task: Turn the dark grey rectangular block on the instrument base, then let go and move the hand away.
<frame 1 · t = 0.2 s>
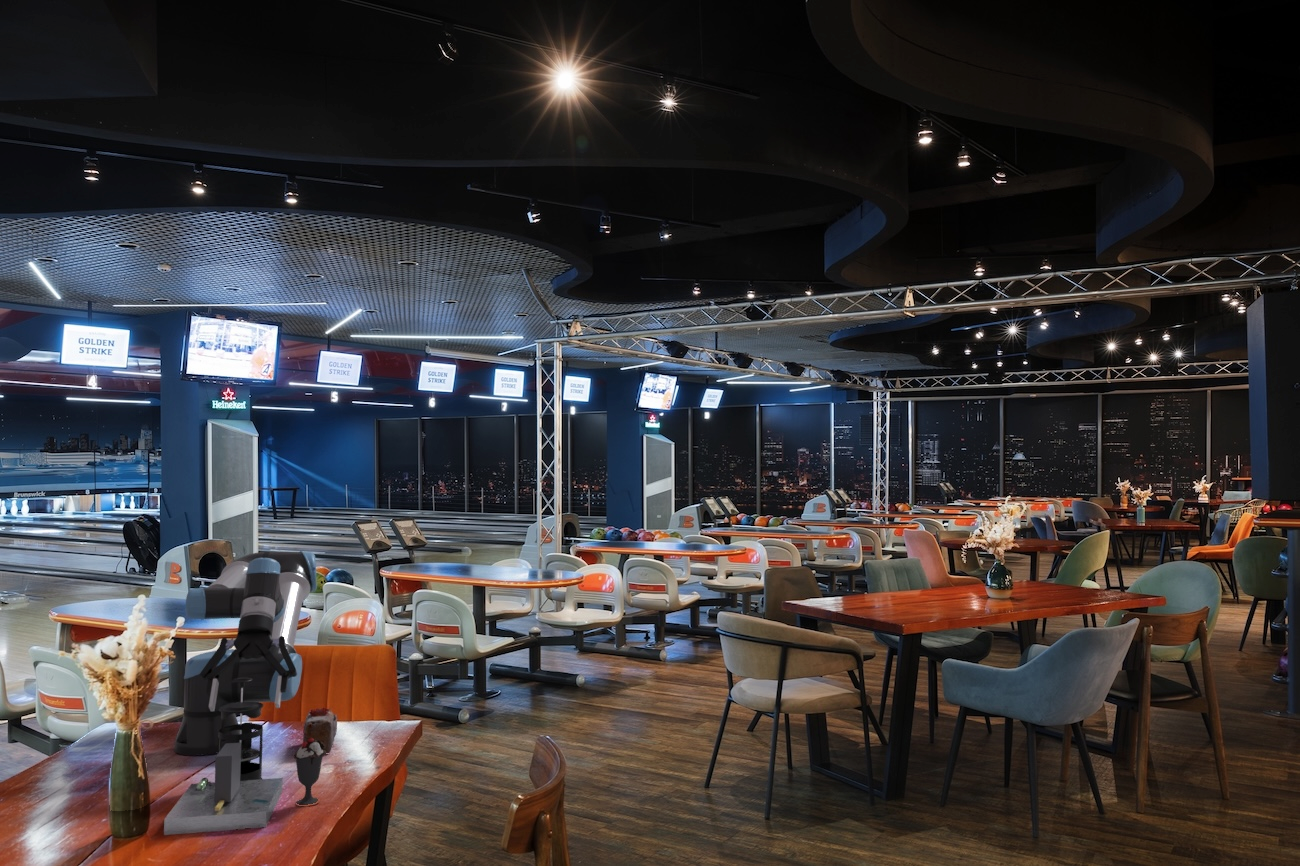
hand: (244, 707, 203), 16 cm above the table, tool tilted 35°, fingers open, 13 cm apart
instrument base: (226, 812, 184), on the table
french press: (239, 784, 201), on the table
dark grey rectangular block: (225, 775, 182), point 8 cm above the table, hinge at 0.0°
food item: (319, 748, 228), on the table
sundae: (308, 803, 190), on the table
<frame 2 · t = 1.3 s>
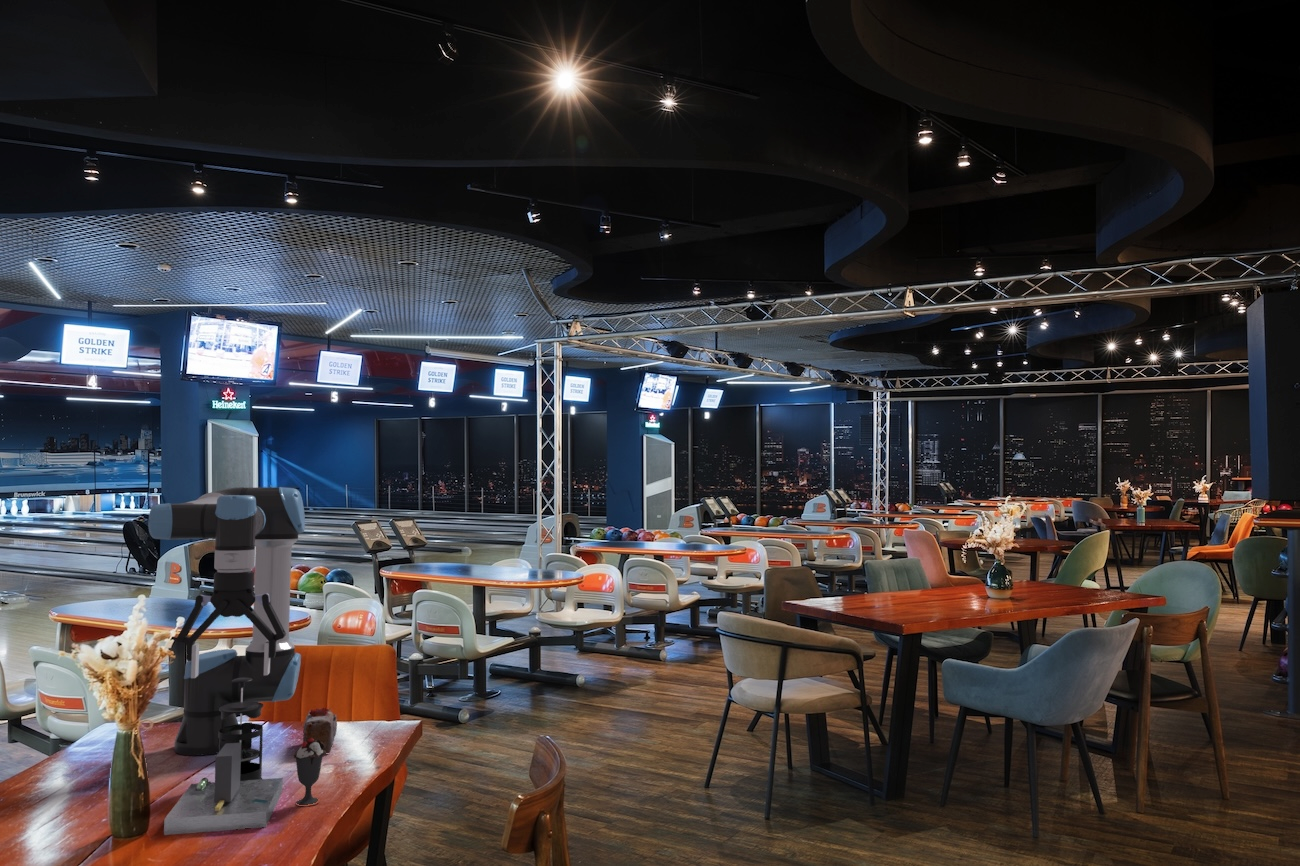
hand: (231, 675, 185), 27 cm above the table, tool pointing down, fingers open, 13 cm apart
nothing on the table moved.
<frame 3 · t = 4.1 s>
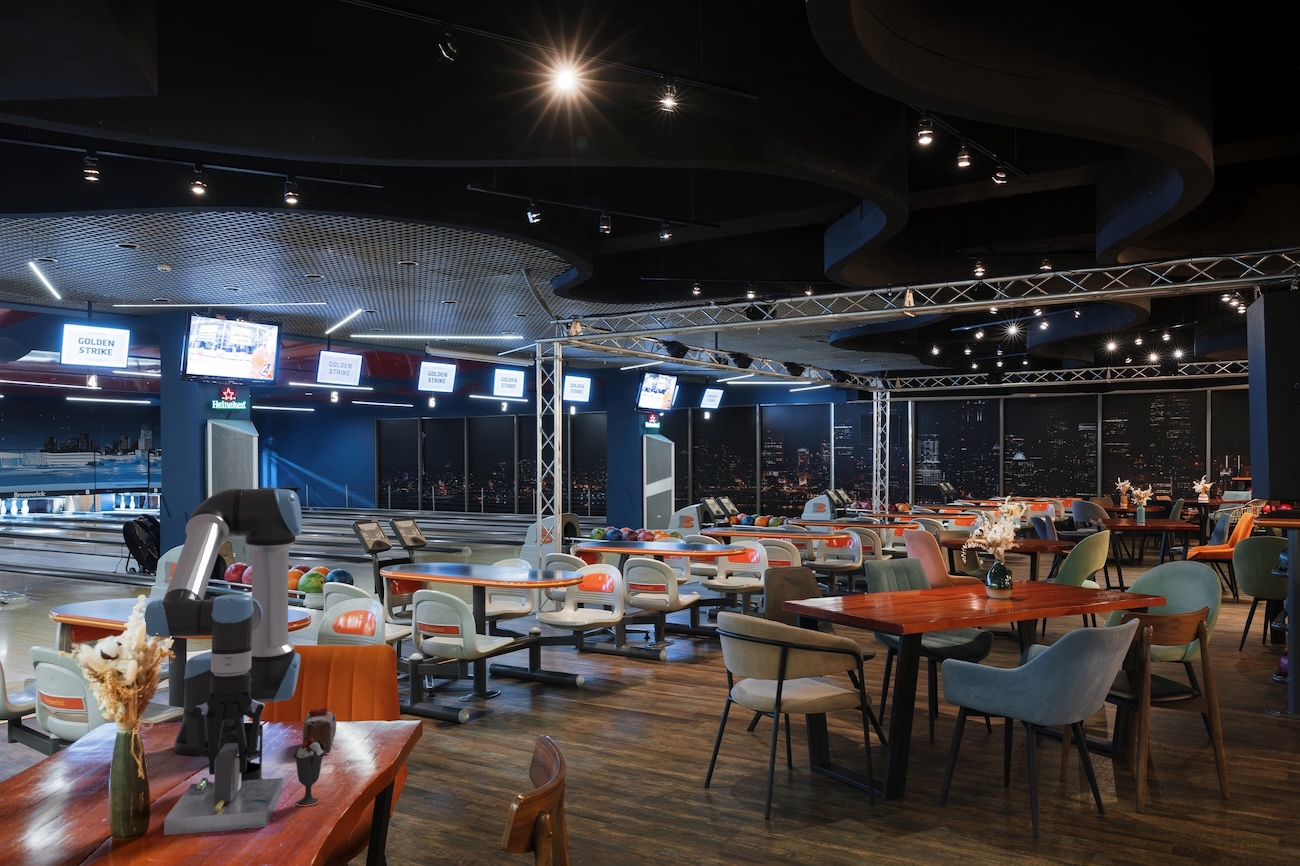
hand: (227, 789, 184), 5 cm above the table, tool pointing down, fingers closed on dark grey rectangular block, 3 cm apart
dark grey rectangular block: (225, 775, 182), point 8 cm above the table, hinge at 0.0°, touching gripper
everything else where it was.
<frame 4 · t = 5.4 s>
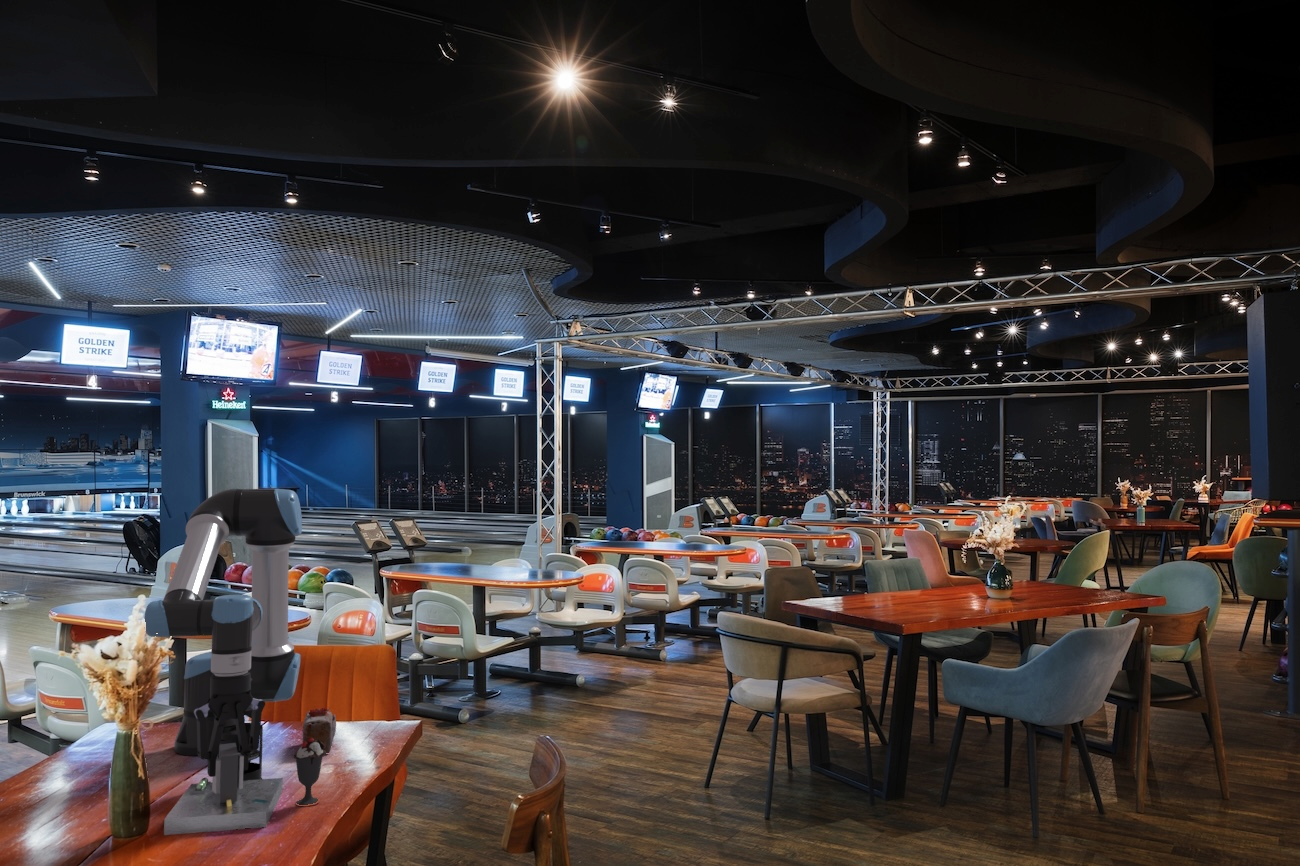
hand: (227, 789, 184), 5 cm above the table, tool pointing down, fingers closed on dark grey rectangular block, 4 cm apart
dark grey rectangular block: (228, 775, 182), point 8 cm above the table, hinge at 14.0°, touching gripper
everything else where it was.
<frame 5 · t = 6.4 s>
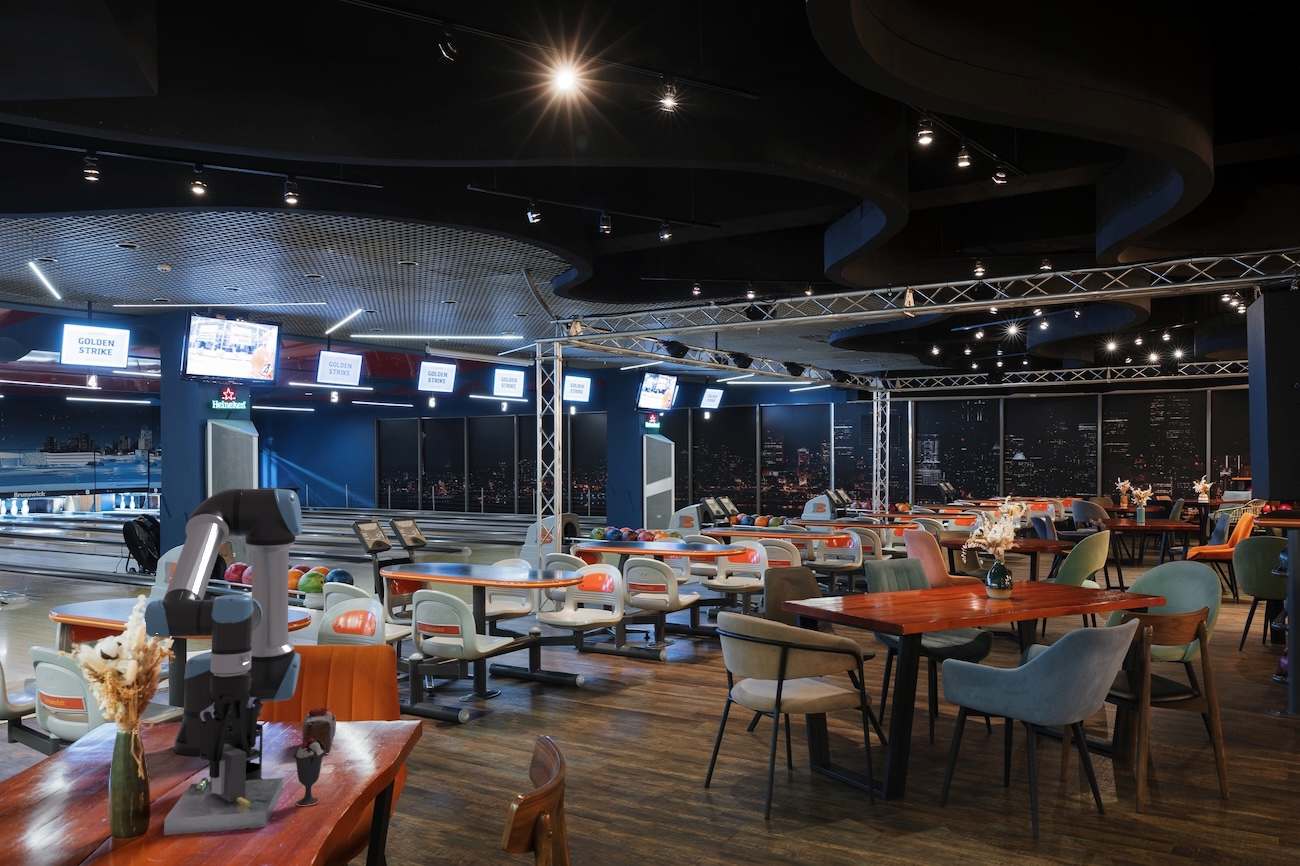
hand: (227, 789, 184), 5 cm above the table, tool pointing down, fingers closed on dark grey rectangular block, 4 cm apart
dark grey rectangular block: (233, 774, 183), point 8 cm above the table, hinge at 35.5°, touching gripper
everything else where it was.
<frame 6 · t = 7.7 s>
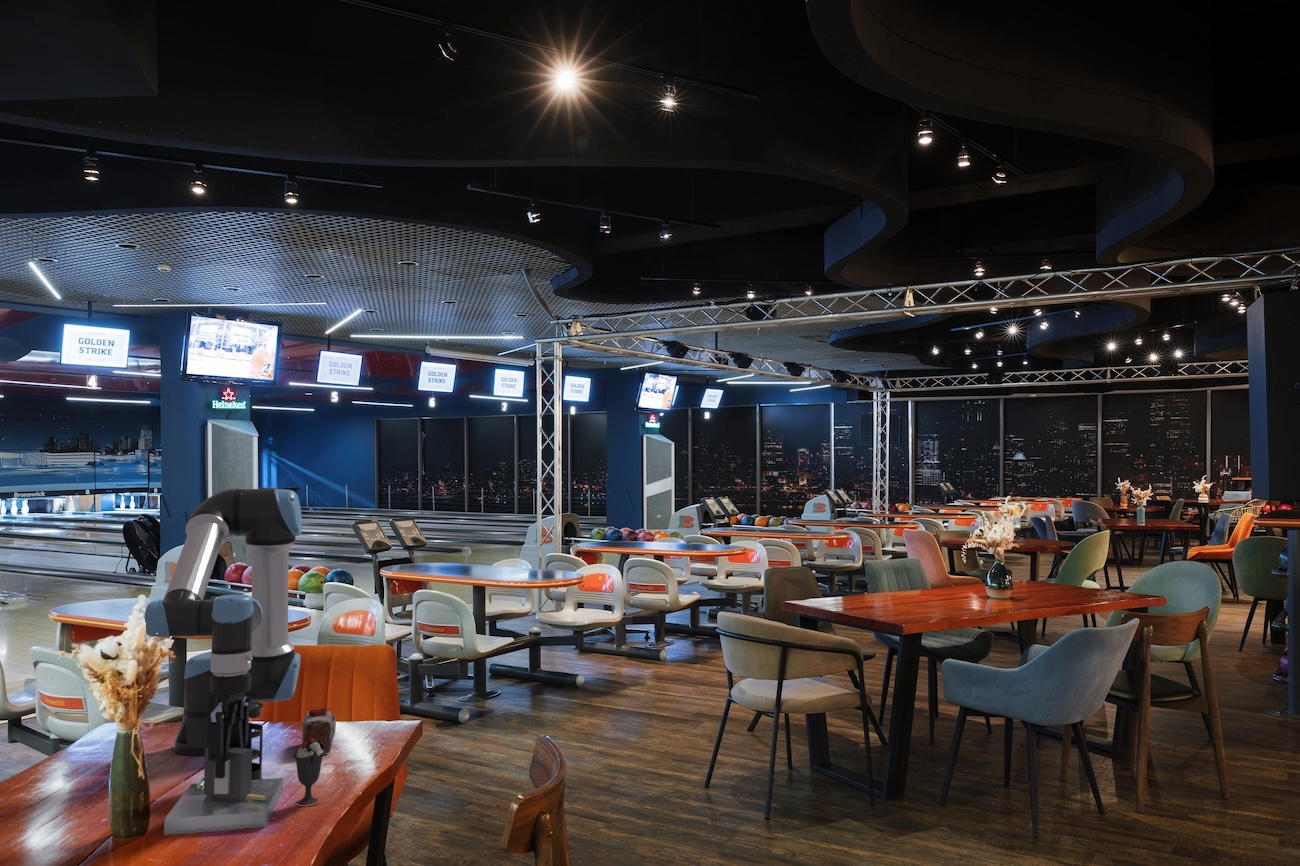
hand: (227, 789, 184), 5 cm above the table, tool pointing down, fingers closed on dark grey rectangular block, 4 cm apart
dark grey rectangular block: (237, 773, 184), point 8 cm above the table, hinge at 59.4°, touching gripper
everything else where it was.
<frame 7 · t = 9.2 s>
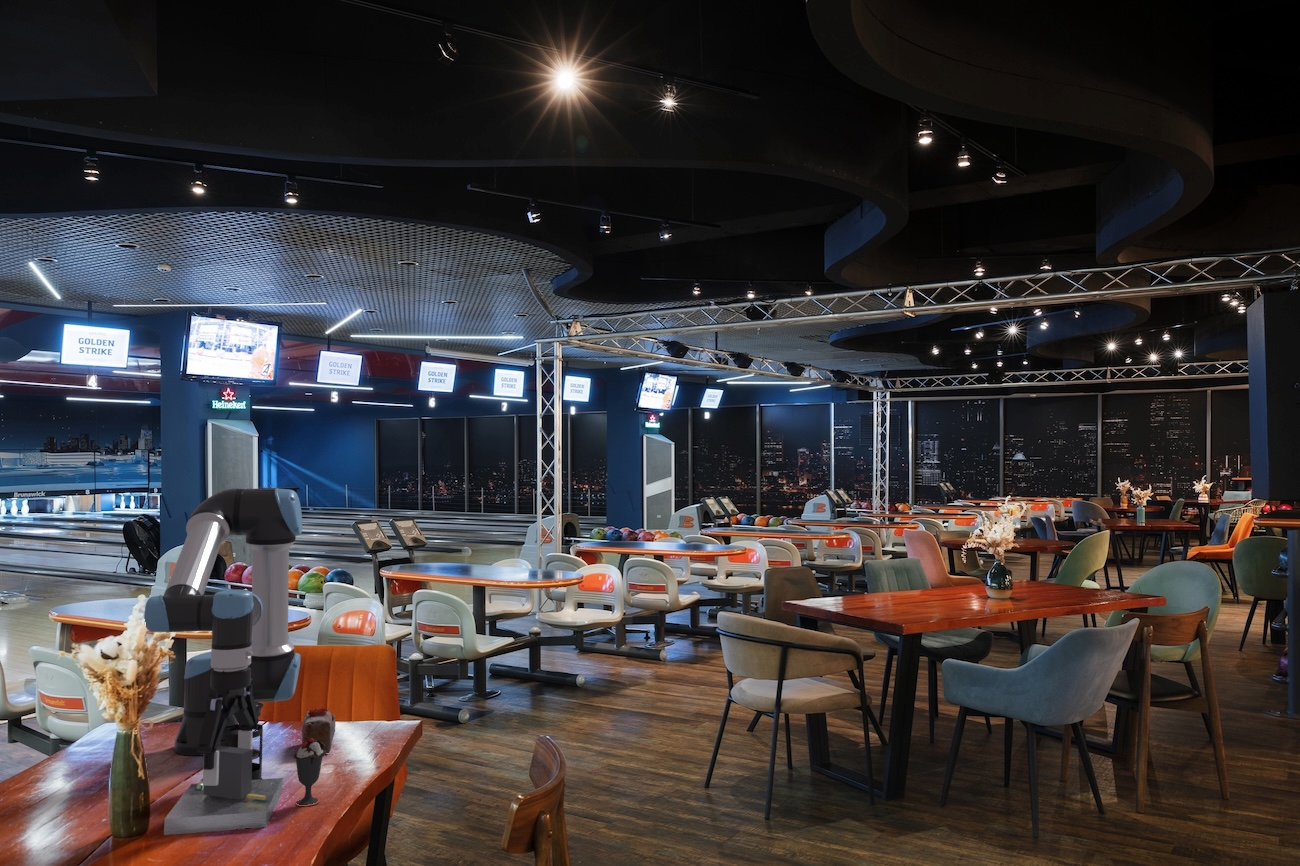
hand: (228, 773, 185), 8 cm above the table, tool pointing down, fingers open, 13 cm apart
dark grey rectangular block: (237, 773, 184), point 8 cm above the table, hinge at 60.2°
everything else where it was.
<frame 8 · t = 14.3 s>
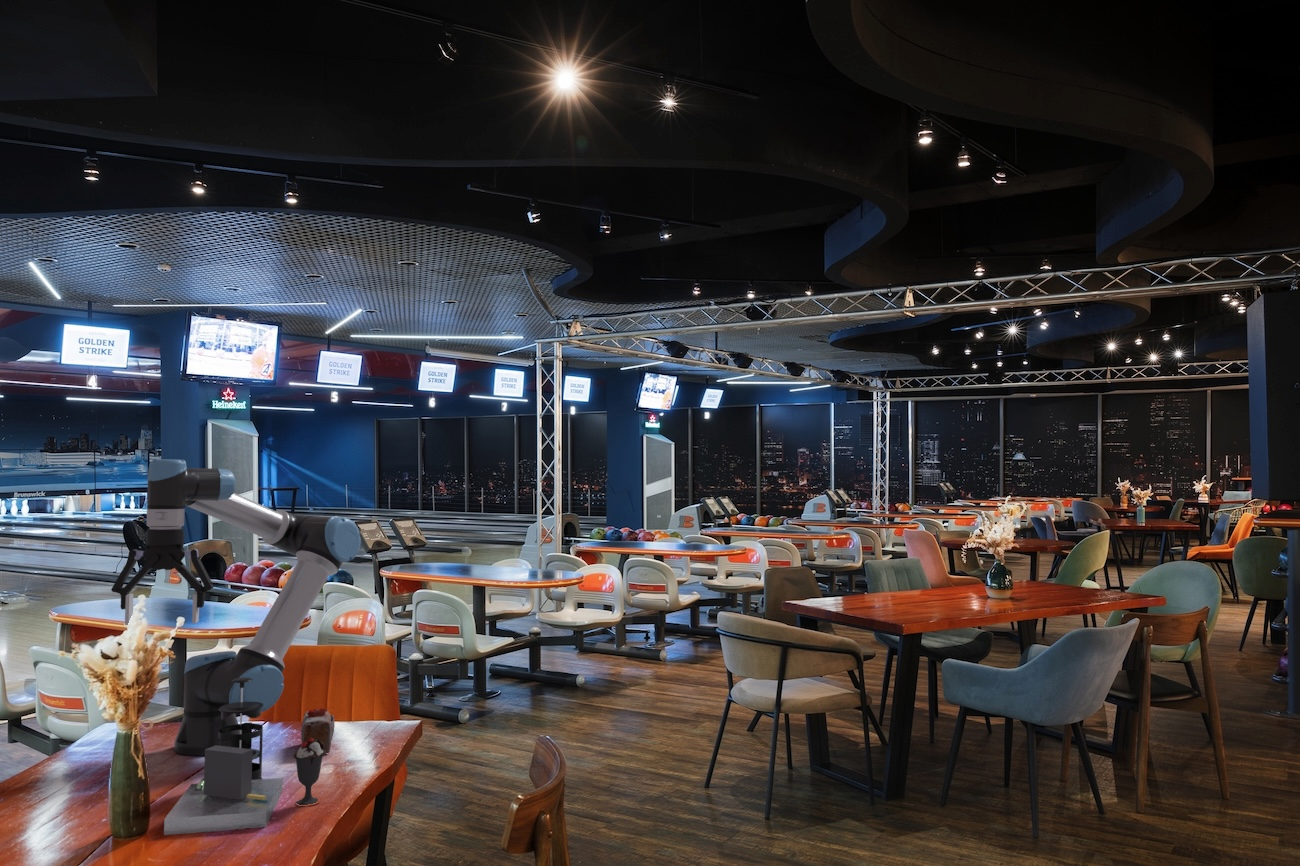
hand: (162, 623, 204), 35 cm above the table, tool pointing down, fingers open, 13 cm apart
nothing on the table moved.
at the end: dark grey rectangular block at +60° (first picture: +0°); the gripper is holding nothing; sundae moved 0.2 cm from its start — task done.
